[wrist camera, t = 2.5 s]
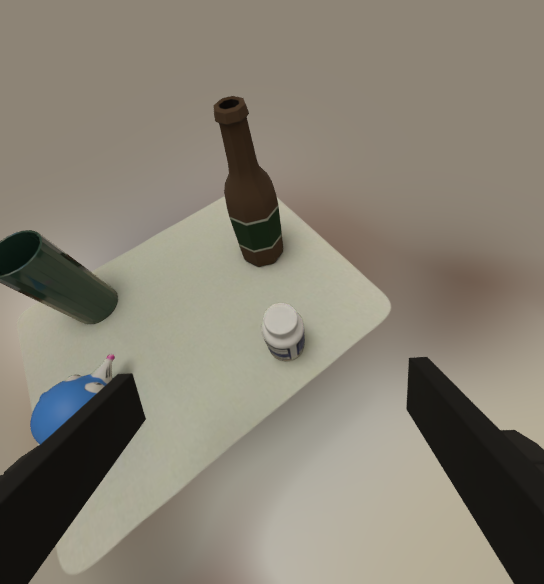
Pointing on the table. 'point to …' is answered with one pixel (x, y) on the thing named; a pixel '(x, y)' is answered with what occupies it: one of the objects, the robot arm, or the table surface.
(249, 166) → the beer bottle
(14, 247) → the cup
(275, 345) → the pill bottle
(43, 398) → the blue mole toy
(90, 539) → the table surface
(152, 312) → the table surface
